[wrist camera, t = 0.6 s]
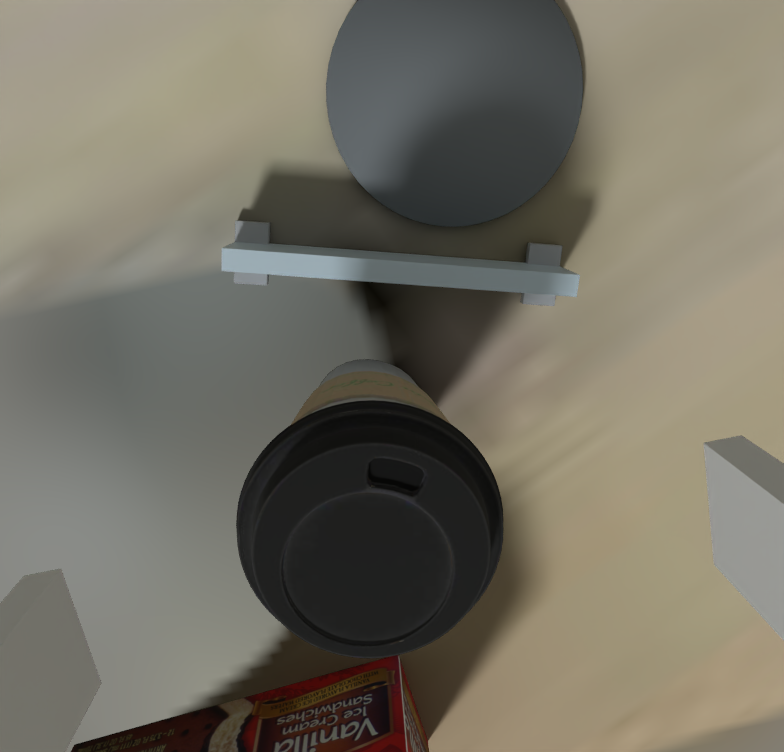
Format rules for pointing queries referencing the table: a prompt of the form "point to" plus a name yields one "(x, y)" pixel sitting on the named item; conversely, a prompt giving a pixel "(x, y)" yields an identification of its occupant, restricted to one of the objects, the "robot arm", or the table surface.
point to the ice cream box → (293, 719)
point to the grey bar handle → (398, 266)
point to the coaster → (454, 103)
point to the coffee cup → (369, 517)
